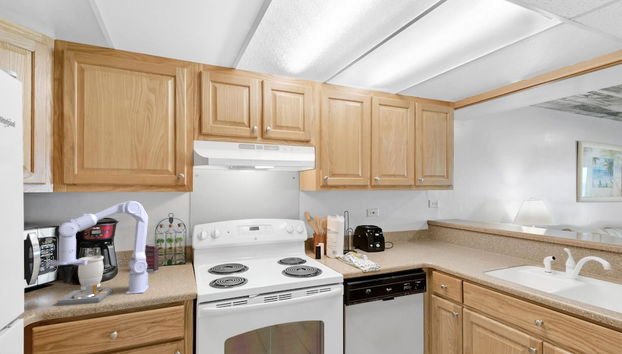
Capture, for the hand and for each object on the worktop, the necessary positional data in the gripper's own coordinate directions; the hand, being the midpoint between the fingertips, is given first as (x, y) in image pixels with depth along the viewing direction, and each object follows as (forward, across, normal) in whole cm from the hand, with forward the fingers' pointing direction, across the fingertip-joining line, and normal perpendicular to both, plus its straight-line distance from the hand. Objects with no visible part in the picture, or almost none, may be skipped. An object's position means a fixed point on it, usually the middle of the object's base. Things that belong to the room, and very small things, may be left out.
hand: (66, 282), depth 128 cm
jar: (+10, -2, +24) cm, 26 cm away
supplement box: (+10, +18, +48) cm, 52 cm away
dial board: (+10, +4, +8) cm, 13 cm away
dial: (+9, +4, +7) cm, 12 cm away
